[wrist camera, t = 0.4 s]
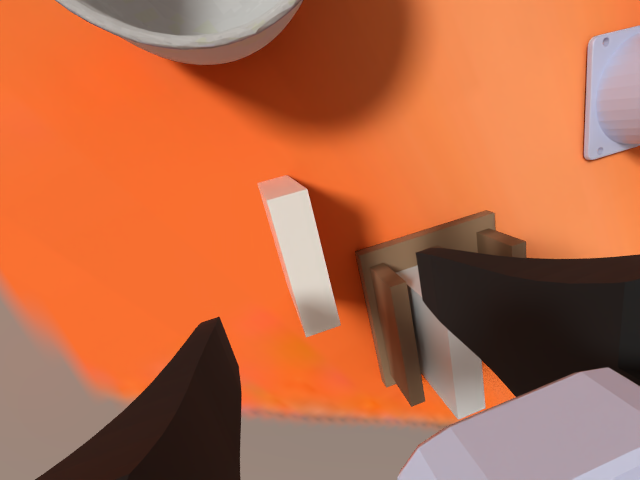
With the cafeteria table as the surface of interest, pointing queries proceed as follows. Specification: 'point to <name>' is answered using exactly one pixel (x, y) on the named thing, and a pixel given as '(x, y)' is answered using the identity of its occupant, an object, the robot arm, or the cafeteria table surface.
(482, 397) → the racked plate
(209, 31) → the teacup
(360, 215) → the cafeteria table surface
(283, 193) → the white upright slab
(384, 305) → the rack
